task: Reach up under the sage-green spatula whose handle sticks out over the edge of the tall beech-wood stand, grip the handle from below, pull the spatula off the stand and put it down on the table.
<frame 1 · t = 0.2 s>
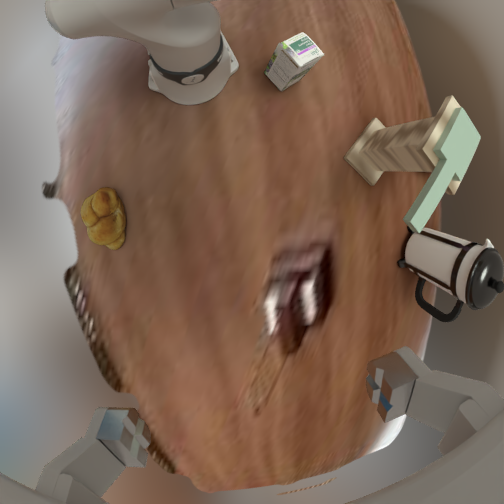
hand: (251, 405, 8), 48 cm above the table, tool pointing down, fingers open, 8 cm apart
spatula: (442, 168, 29), point 26 cm above the table, touching stand
bread roll: (109, 218, 51), on the table
coffee press: (415, 253, 61), on the table
stand: (372, 151, 53), on the table
syrup box: (282, 76, 47), on the table
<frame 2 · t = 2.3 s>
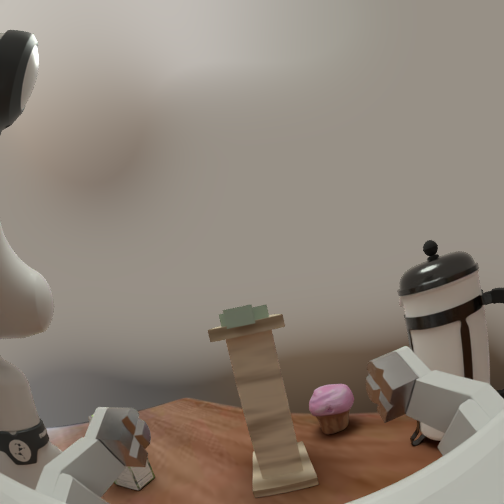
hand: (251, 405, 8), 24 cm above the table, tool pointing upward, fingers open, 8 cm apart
spatula: (245, 322, 32), point 26 cm above the table, touching stand
coffee press: (461, 428, 24), on the table
cupcake: (336, 429, 42), on the table
stand: (282, 470, 32), on the table
syrup box: (136, 482, 30), on the table
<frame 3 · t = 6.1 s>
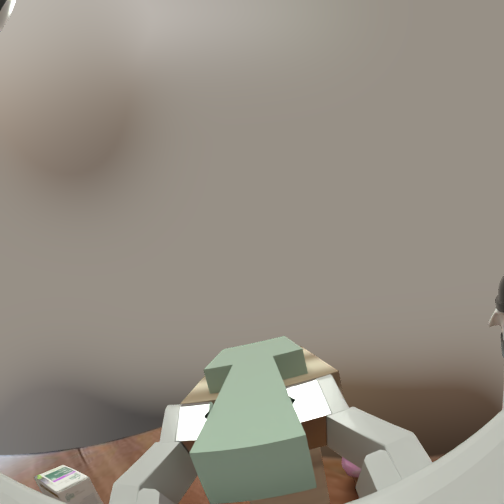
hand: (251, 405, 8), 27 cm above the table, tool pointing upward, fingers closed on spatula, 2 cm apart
spatula: (258, 387, 14), point 26 cm above the table, touching gripper, stand
cupcake: (374, 484, 24), on the table
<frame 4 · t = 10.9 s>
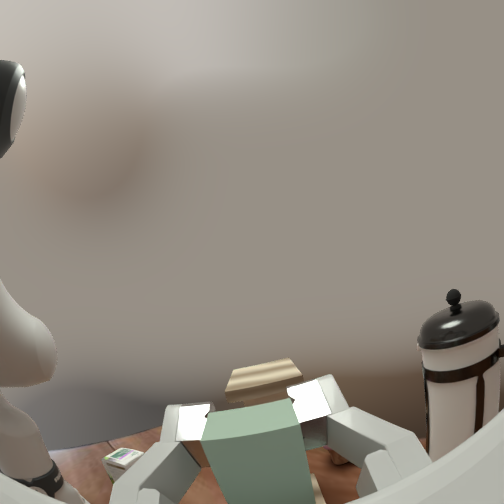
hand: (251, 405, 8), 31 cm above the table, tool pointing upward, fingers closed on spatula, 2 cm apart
coffee press: (466, 462, 20), on the table
cupcake: (345, 459, 39), on the table
stand: (295, 503, 28), on the table
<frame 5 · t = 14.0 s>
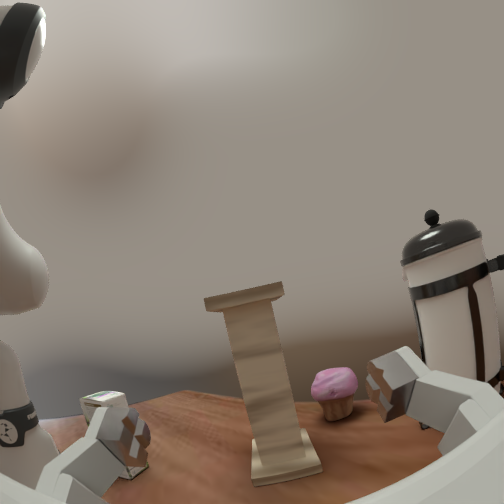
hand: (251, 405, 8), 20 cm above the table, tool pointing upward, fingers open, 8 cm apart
coffee press: (472, 410, 23), on the table
cupcake: (339, 416, 41), on the table
stand: (283, 458, 31), on the table
syrup box: (129, 471, 29), on the table
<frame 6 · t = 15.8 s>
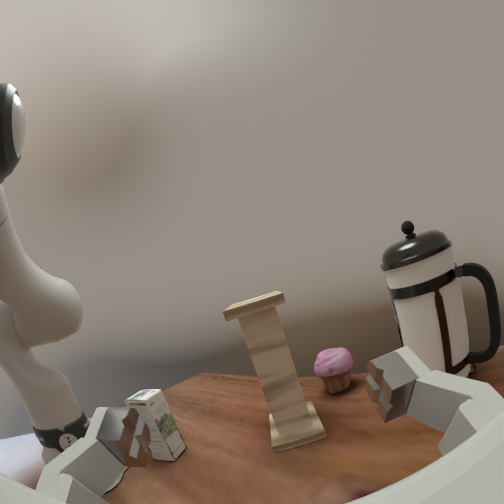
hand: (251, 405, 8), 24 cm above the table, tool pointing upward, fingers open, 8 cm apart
coffee press: (447, 385, 33), on the table
cupcake: (339, 389, 52), on the table
stand: (295, 427, 42), on the table
syrup box: (171, 454, 40), on the table
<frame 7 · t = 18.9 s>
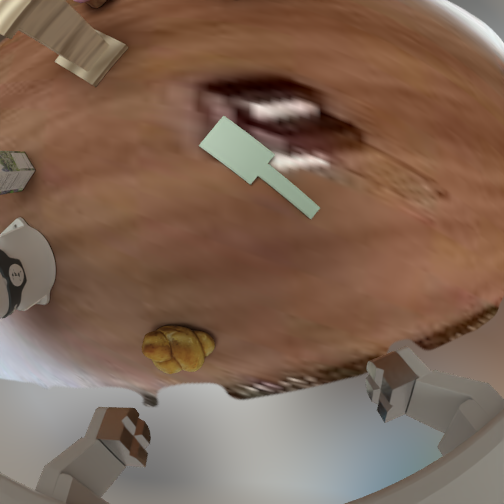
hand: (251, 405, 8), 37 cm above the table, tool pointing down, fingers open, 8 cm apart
spatula: (264, 171, 42), on the table
bread roll: (182, 340, 49), on the table
stand: (90, 55, 32), on the table
syrup box: (24, 170, 36), on the table
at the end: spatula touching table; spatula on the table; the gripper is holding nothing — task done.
